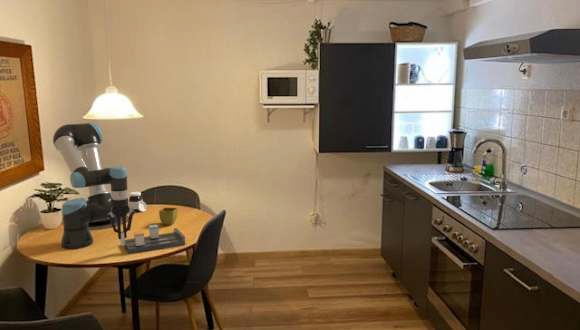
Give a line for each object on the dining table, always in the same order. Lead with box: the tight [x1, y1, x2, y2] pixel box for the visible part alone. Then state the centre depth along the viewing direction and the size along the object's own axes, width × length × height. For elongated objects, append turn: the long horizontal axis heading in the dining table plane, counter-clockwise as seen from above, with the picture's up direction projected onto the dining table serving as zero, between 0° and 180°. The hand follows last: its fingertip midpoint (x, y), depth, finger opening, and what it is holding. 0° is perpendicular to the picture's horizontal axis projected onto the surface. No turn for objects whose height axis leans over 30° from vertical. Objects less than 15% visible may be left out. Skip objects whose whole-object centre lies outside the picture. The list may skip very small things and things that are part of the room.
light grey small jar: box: [148, 224, 160, 239], centre depth 244 cm, size 4×4×6 cm
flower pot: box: [158, 207, 179, 226], centre depth 276 cm, size 9×9×9 cm
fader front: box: [133, 230, 145, 246], centre depth 233 cm, size 4×4×6 cm
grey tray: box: [124, 227, 186, 255], centre depth 241 cm, size 28×16×5 cm, turn 119°
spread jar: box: [128, 191, 148, 213], centre depth 306 cm, size 12×11×12 cm
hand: (122, 244), depth 229 cm, fingers closed
